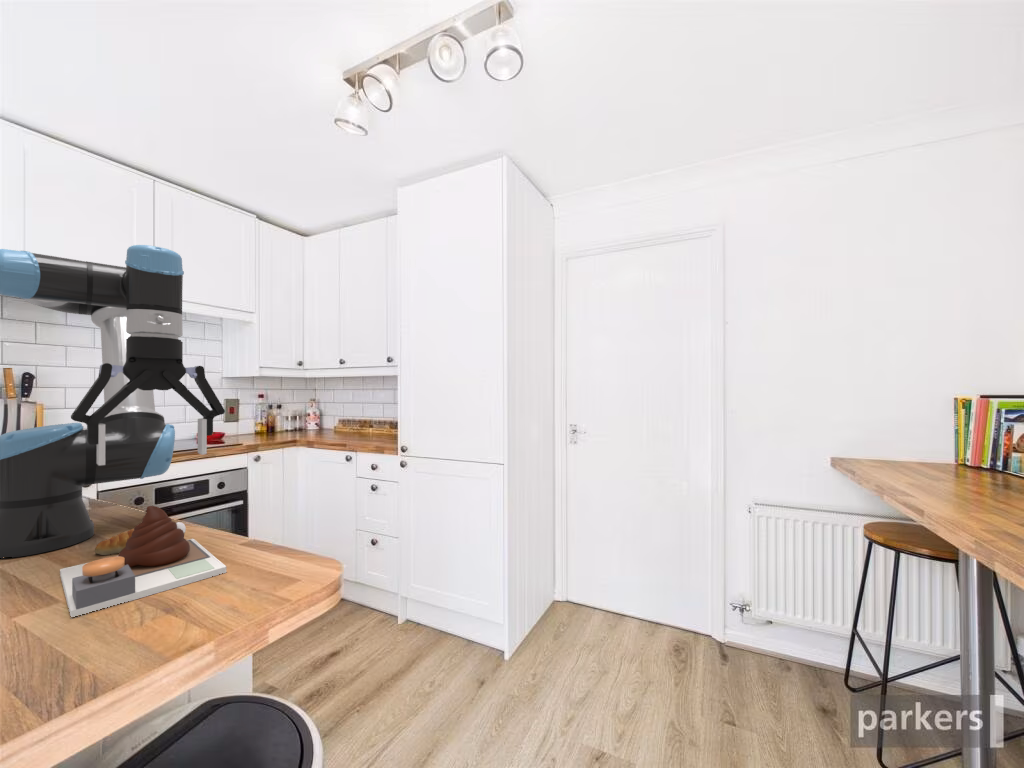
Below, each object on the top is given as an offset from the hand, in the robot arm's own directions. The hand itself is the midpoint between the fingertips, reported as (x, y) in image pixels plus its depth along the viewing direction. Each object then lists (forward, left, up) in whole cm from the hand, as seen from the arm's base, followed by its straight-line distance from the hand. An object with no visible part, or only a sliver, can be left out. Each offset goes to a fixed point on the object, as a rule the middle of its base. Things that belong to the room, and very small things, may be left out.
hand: (155, 458), depth 73 cm
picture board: (+4, +1, -19) cm, 19 cm away
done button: (+12, +2, -16) cm, 21 cm away
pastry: (-9, -10, -19) cm, 24 cm away
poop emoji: (+1, 0, -18) cm, 18 cm away
